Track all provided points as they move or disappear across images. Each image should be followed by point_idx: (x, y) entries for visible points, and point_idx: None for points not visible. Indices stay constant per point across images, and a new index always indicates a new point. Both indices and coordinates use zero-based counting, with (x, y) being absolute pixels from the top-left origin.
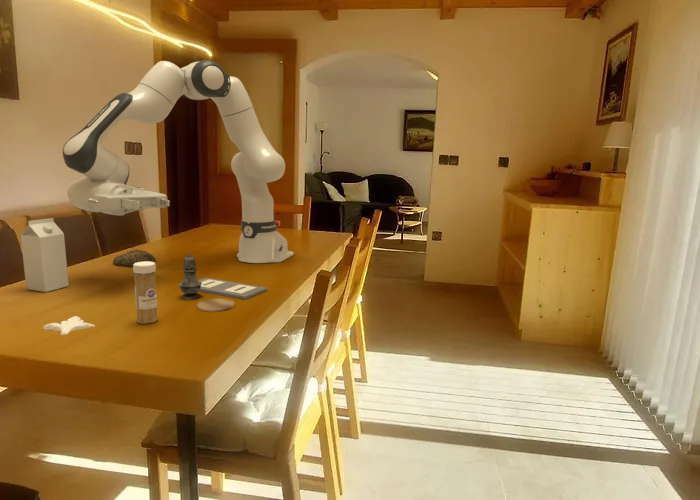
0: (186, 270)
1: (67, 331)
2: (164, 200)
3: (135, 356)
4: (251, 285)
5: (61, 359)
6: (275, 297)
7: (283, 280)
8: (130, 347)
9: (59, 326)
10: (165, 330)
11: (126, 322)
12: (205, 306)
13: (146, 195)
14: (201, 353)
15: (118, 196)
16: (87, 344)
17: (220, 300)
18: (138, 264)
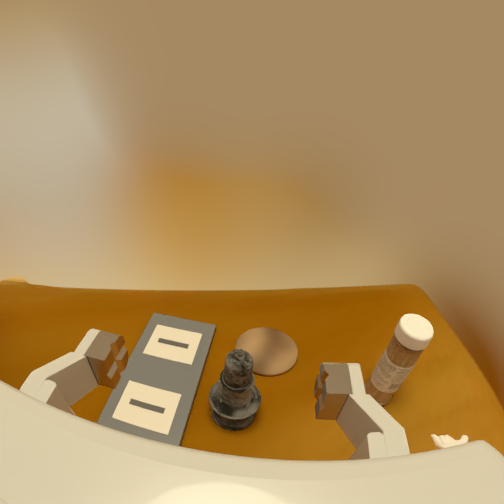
0: (252, 377)
1: (461, 439)
2: (117, 339)
3: (435, 336)
4: (143, 335)
5: (481, 378)
6: (190, 300)
7: (87, 309)
8: (431, 353)
9: None
10: None
11: (397, 413)
12: (287, 355)
13: (104, 437)
14: (393, 301)
15: (439, 454)
16: (457, 390)
17: (247, 350)
18: (429, 325)
